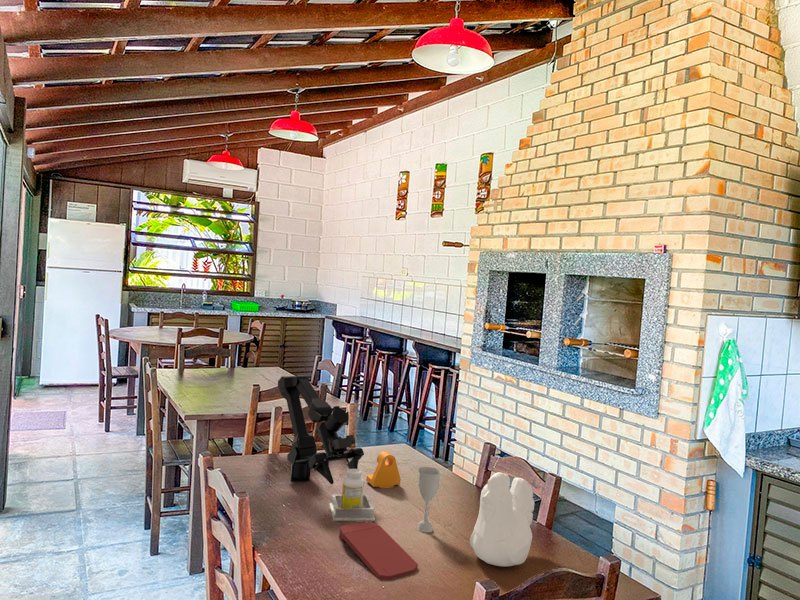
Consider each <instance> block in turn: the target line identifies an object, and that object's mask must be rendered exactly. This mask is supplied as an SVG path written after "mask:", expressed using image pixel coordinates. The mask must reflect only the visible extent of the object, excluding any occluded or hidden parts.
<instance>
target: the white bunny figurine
mask: <svg viewBox="0 0 800 600" xmlns="http://www.w3.org/2000/svg"><path fill="white" fill-rule="evenodd" d="M533 497H534V493H533V488H532V487H531V486H530V485H529V482H528V481H527V480H526V479H524V478H522V477H514V478H513V479H512V482H511V478H510V476H509V475H508V474H507V473H503V472H501V471H499V472H495V473H494V474H492V476H490V477H489V479H488V480H487V482H486V484H485V485H484V486H483V487H482V489H481V492H480V499H479V511H478V516H477V520H476V521H475V525H474V528H473V532H472V533H471V536H470V537H469V545H470V547H471V548H472V549H473V551H474V553H475V555H476V557H477V558H478V559H480V560H482V561H483V562H485V563H486V564H488V565H493V566H497V567H512V566H517V565H518V566H519V565H521V564H523V563H525V561H526V559H528V555H529V553H530V549H531V544H532V541H533V533H532V532H533V531H532V529H531V527H530V526H531V525H532V522H533V516H534V514H533V512H534V510H535V500H534V498H533Z"/></svg>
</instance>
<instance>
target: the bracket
mask: <svg viewBox="0 0 800 600" xmlns="http://www.w3.org/2000/svg"><path fill="white" fill-rule="evenodd" d="M376 462H377V465H376V467H375V470H374V472H373V473H372V474H371V473H370V474H366V482H367V483H369V484H370V485H371V486H372V487H374V488H375V487H377V488H379V489H386V488H387V487H388V488H394V486H396V485H397V486H398V485H401V481H402V480H401V476H400V471H399V467H398V464H397V460H396V458H395V456H394V455H393V454H391V453H389V451H386V450H383V451H380V452H379V453H378V454H377V458H376Z"/></svg>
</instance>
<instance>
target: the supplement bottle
mask: <svg viewBox="0 0 800 600" xmlns="http://www.w3.org/2000/svg"><path fill="white" fill-rule="evenodd" d="M362 472H363V471H362V469H349V468H348V469H347V471H346V477H345V478H344V479H343V483H342V493H341V495H342V503H341V508H362V502H363V495H364V489H365V488H364V487H365V482H364V479H363V478H362V475H363V473H362Z"/></svg>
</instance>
